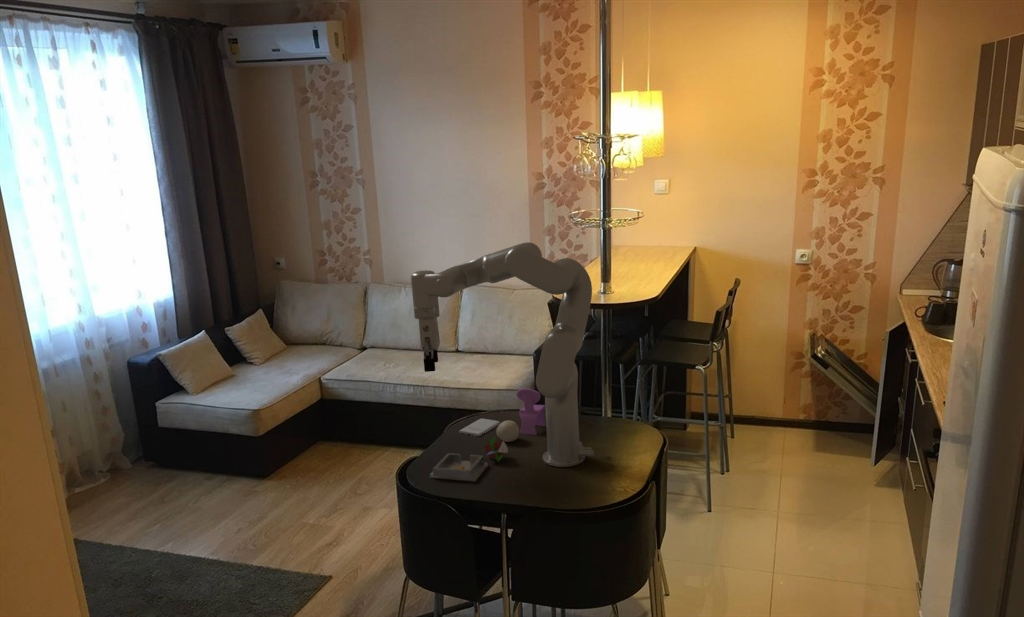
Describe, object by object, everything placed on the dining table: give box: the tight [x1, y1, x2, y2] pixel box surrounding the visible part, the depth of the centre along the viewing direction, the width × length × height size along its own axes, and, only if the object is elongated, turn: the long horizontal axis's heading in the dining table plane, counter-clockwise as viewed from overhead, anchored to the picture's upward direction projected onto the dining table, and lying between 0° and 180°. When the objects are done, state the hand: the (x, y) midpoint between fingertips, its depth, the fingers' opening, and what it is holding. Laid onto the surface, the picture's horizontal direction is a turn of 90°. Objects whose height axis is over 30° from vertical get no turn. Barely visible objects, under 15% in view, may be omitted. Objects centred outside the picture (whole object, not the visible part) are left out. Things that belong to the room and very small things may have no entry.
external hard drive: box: [458, 418, 501, 437], centre depth 262 cm, size 2×8×12 cm
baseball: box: [496, 419, 520, 443], centre depth 249 cm, size 7×7×7 cm
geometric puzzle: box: [483, 436, 509, 463], centre depth 235 cm, size 7×7×8 cm
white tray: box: [429, 452, 489, 482], centre depth 228 cm, size 14×12×3 cm
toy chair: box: [516, 387, 546, 436], centre depth 257 cm, size 8×9×15 cm
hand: (431, 366), depth 239 cm, fingers open, 9 cm apart
